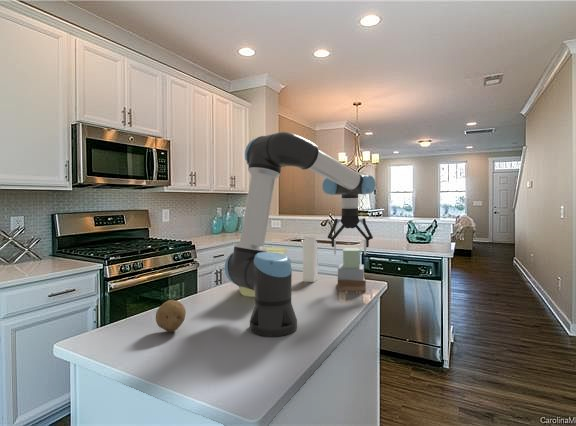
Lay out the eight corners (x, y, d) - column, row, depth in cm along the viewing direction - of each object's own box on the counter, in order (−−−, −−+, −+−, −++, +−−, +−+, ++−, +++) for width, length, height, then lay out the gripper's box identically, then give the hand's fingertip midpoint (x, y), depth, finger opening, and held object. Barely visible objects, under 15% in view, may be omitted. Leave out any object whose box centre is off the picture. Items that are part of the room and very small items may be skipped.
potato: (184, 337, 102) (183, 304, 102) (152, 339, 101) (152, 306, 100) (187, 326, 111) (186, 295, 111) (158, 328, 110) (157, 297, 109)
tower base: (365, 292, 151) (365, 280, 151) (338, 291, 152) (338, 280, 152) (363, 285, 163) (363, 274, 163) (337, 284, 164) (337, 274, 164)
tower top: (363, 280, 151) (362, 269, 151) (337, 279, 154) (337, 268, 153) (363, 275, 161) (363, 264, 161) (340, 274, 164) (340, 263, 164)
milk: (314, 282, 168) (314, 237, 167) (302, 281, 170) (302, 237, 169) (317, 279, 174) (317, 236, 172) (306, 278, 176) (305, 235, 175)
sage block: (359, 268, 153) (359, 250, 153) (343, 268, 154) (343, 250, 153) (358, 265, 160) (358, 248, 160) (343, 265, 161) (343, 248, 160)
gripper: (376, 207, 158) (376, 253, 159) (322, 207, 161) (322, 252, 162) (379, 207, 151) (379, 255, 151) (322, 208, 154) (322, 255, 155)
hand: (349, 254), depth 157 cm, fingers open, 13 cm apart
